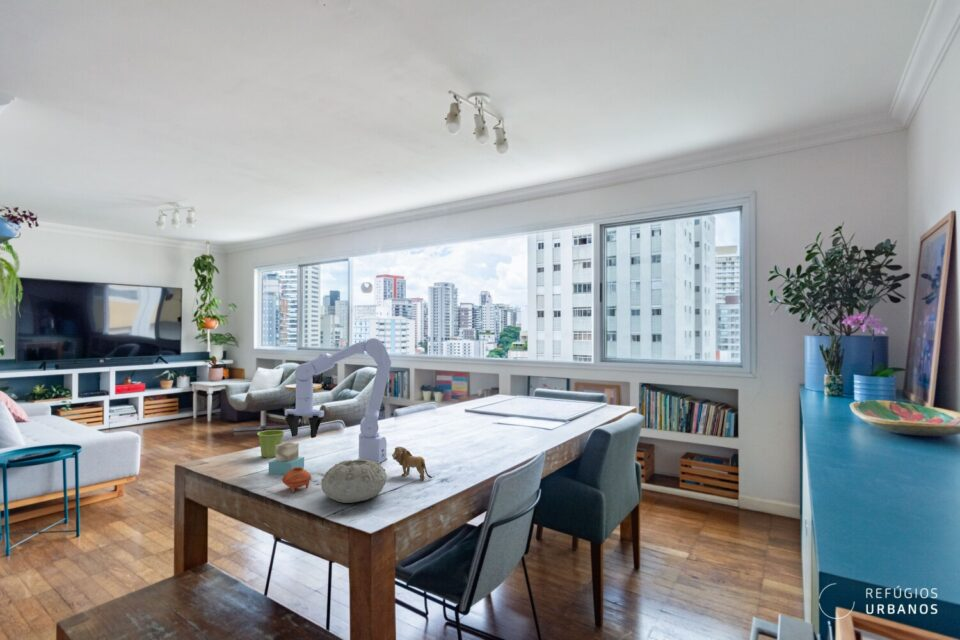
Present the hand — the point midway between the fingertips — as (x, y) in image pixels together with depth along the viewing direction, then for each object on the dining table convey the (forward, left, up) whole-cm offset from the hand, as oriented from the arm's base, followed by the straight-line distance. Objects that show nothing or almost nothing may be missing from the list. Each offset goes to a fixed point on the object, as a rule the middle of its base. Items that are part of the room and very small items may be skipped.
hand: (304, 436), depth 167 cm
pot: (-14, +23, -10) cm, 29 cm away
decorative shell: (-34, +24, -10) cm, 43 cm away
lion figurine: (-41, +2, -10) cm, 43 cm away
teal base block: (+1, +8, -10) cm, 13 cm away
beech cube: (+1, +8, -6) cm, 10 cm away
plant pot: (+19, -6, -10) cm, 22 cm away
